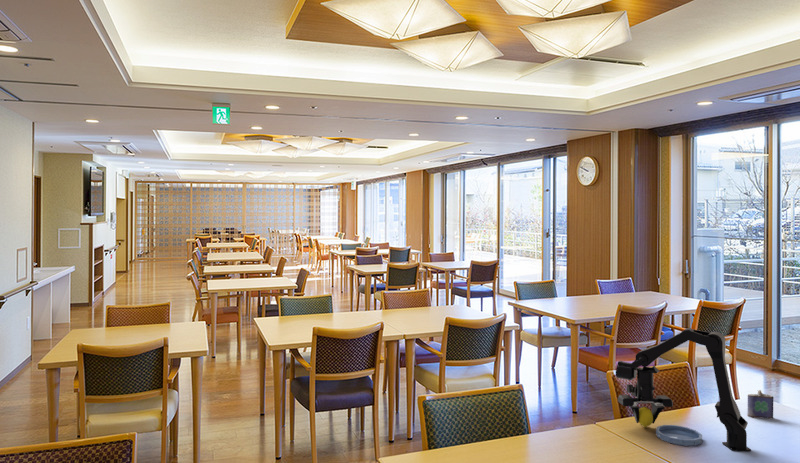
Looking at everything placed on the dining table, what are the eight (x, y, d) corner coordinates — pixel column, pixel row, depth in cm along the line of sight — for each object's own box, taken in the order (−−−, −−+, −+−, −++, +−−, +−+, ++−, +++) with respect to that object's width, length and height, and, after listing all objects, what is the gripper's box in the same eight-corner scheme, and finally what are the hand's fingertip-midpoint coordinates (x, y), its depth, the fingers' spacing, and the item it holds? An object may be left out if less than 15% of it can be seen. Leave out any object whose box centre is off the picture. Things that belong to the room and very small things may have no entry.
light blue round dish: (710, 446, 185) (710, 440, 185) (667, 445, 186) (667, 439, 186) (689, 430, 200) (689, 425, 200) (649, 429, 201) (649, 424, 201)
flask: (748, 417, 215) (748, 390, 215) (745, 414, 218) (746, 388, 218) (774, 419, 213) (774, 392, 213) (771, 416, 216) (771, 390, 216)
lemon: (649, 424, 206) (649, 404, 206) (655, 430, 200) (655, 409, 200) (635, 424, 206) (635, 403, 206) (640, 429, 201) (640, 408, 201)
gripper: (660, 377, 211) (660, 416, 211) (613, 376, 212) (612, 415, 212) (673, 385, 200) (673, 426, 200) (623, 384, 201) (623, 425, 201)
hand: (645, 423), depth 203 cm, fingers closed on lemon, 5 cm apart
